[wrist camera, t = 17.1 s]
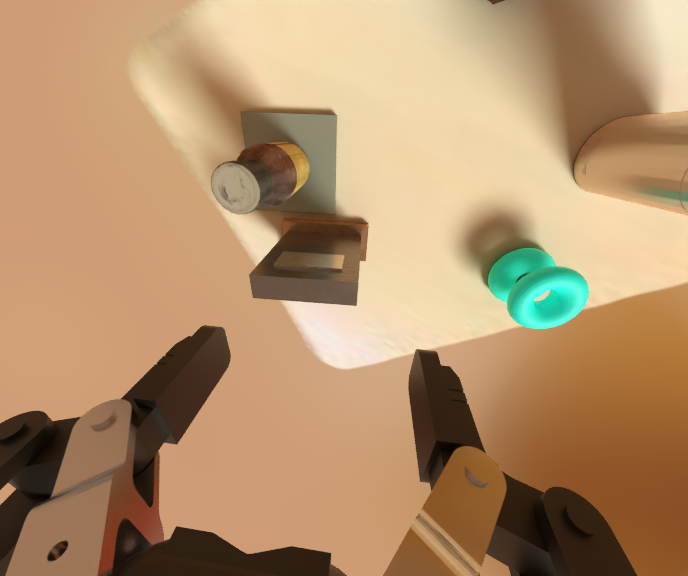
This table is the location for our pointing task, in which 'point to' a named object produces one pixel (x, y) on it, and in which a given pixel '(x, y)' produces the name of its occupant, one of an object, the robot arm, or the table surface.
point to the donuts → (537, 288)
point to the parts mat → (314, 140)
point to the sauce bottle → (260, 177)
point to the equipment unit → (313, 263)
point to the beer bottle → (495, 1)
